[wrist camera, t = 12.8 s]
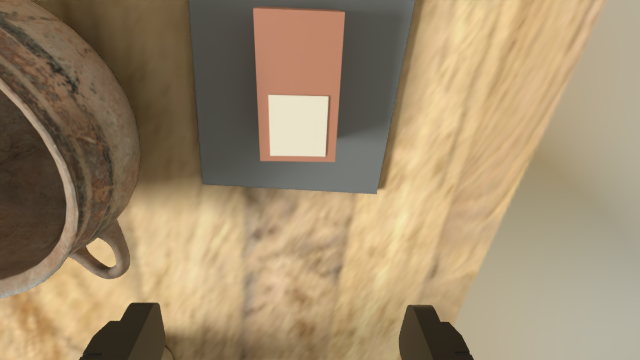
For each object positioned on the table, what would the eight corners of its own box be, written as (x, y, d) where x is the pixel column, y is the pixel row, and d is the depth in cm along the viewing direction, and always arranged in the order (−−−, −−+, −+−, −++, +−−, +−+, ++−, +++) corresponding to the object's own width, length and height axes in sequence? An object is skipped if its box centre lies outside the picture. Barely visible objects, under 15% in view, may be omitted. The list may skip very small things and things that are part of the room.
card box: (260, 6, 24) (252, 8, 20) (337, 9, 25) (345, 12, 20) (265, 138, 29) (260, 161, 25) (330, 139, 29) (335, 162, 25)
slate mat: (204, 180, 31) (202, 184, 31) (184, -92, 22) (181, -95, 21) (374, 189, 33) (376, 194, 32) (424, -62, 23) (427, -64, 23)
